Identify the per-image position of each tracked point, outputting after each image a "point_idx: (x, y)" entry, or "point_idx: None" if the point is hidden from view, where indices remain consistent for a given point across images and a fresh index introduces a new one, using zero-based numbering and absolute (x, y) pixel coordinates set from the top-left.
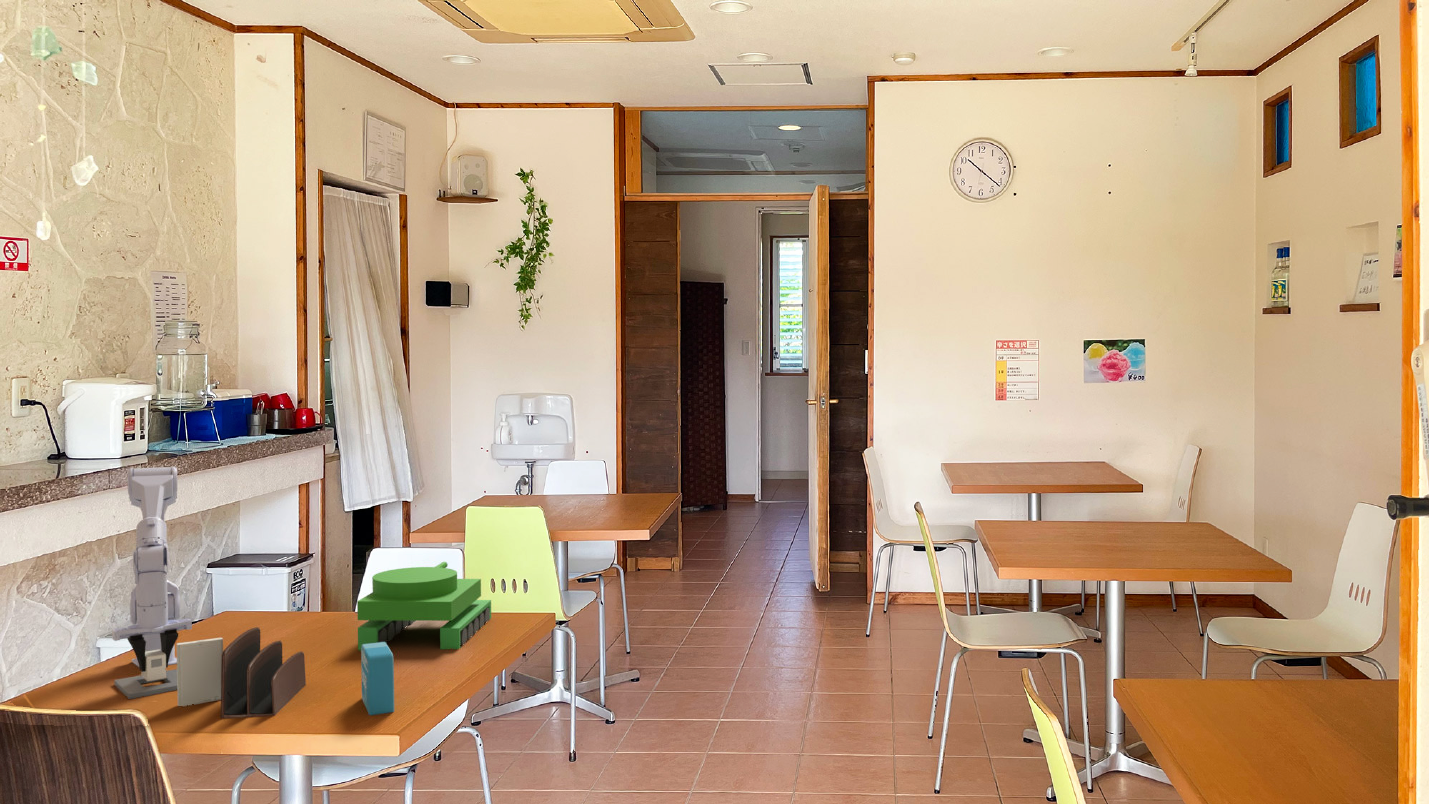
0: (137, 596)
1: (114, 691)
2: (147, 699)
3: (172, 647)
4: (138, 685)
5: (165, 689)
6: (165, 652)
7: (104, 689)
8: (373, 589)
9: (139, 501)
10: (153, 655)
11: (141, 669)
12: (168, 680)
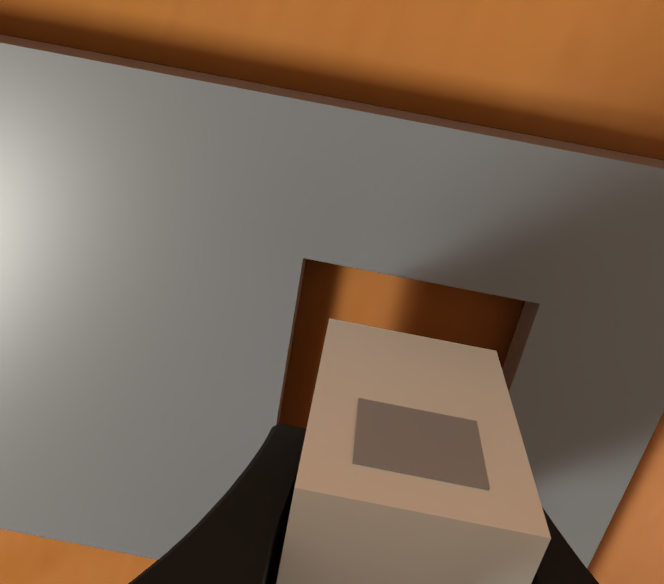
0: None
1: (644, 480)
2: (657, 24)
3: (158, 564)
4: (536, 392)
5: (427, 119)
6: (271, 541)
7: (648, 568)
8: None
9: None
10: (440, 552)
11: None
12: (288, 349)
